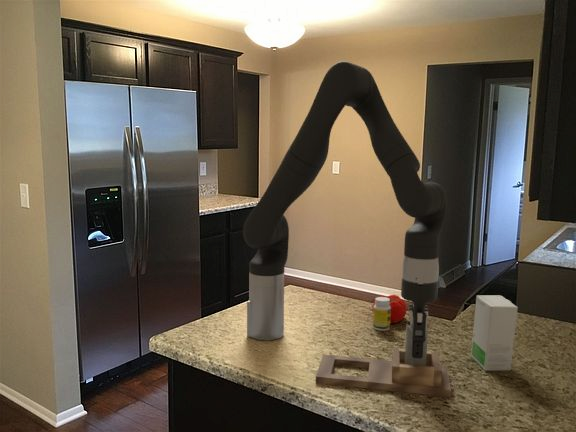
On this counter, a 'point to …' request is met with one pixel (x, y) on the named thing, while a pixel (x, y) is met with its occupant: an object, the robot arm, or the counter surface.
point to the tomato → (396, 308)
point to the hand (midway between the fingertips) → (416, 349)
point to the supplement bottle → (382, 314)
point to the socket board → (389, 374)
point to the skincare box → (493, 332)
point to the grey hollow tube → (408, 348)
